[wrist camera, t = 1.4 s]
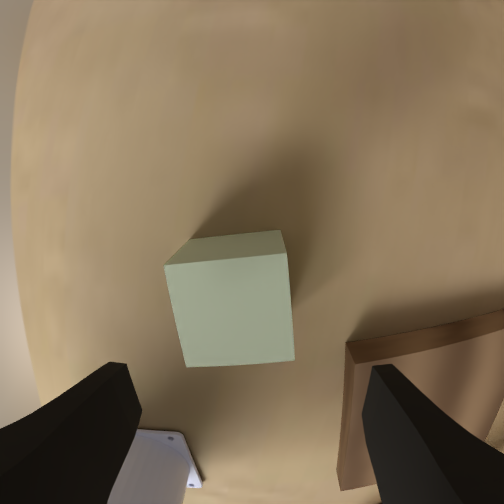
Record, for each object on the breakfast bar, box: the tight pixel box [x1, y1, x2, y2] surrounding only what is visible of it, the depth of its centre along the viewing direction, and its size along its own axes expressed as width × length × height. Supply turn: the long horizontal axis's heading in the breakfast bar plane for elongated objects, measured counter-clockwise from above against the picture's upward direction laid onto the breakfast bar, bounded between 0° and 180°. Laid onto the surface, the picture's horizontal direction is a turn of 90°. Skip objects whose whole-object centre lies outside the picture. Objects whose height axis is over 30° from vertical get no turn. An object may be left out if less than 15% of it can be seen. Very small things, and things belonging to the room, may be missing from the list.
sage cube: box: [164, 230, 295, 367], centre depth 16 cm, size 5×5×5 cm
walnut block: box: [336, 309, 504, 491], centre depth 19 cm, size 14×14×3 cm
